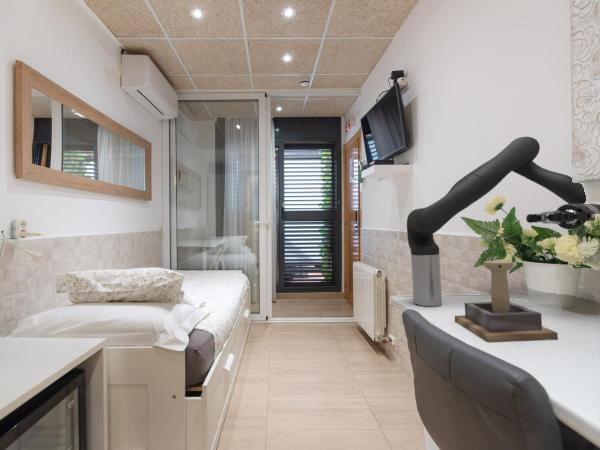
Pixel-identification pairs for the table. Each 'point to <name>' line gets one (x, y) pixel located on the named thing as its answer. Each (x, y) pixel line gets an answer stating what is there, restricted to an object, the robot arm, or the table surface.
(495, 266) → the handle
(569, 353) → the table surface
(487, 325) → the socket base
